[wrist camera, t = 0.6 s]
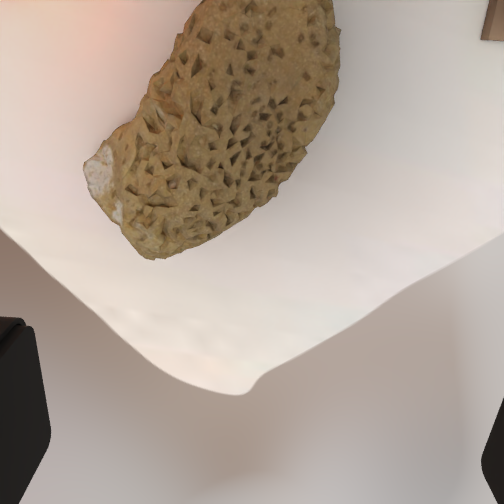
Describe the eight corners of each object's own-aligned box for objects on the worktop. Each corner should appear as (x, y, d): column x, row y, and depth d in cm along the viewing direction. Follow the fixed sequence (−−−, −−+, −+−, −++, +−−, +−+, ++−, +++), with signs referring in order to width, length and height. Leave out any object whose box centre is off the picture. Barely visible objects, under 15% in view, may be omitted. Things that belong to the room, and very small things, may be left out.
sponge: (186, 248, 39) (407, 118, 31) (138, 287, 32) (407, 135, 24) (95, 111, 37) (304, -70, 28) (23, 122, 30) (271, -112, 22)
